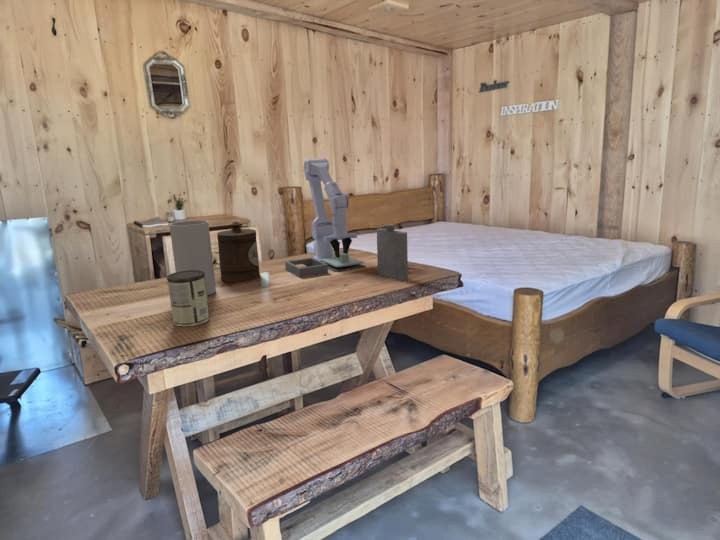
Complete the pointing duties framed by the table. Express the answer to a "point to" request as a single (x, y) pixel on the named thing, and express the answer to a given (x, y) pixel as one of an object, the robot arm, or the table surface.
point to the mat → (344, 267)
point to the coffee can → (188, 298)
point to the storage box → (306, 267)
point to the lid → (341, 260)
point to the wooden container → (238, 254)
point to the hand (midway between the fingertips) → (341, 256)
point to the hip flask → (392, 253)
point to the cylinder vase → (193, 249)
